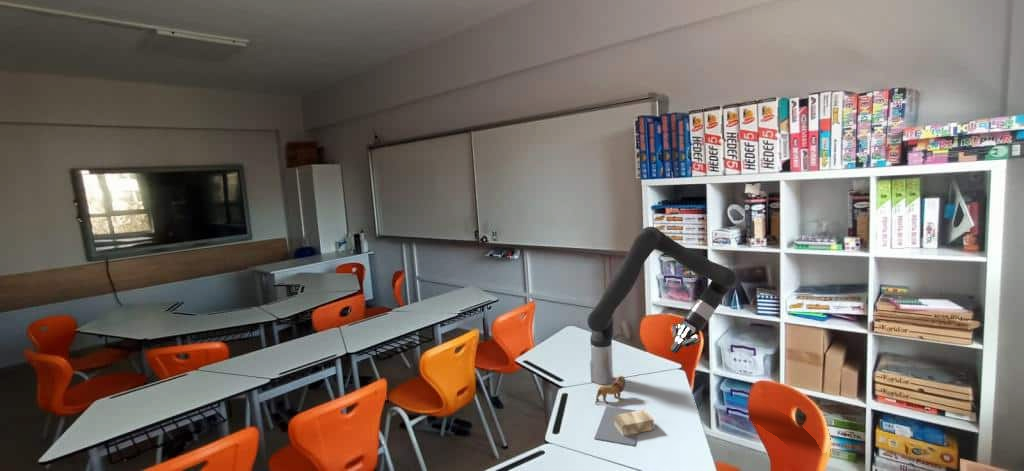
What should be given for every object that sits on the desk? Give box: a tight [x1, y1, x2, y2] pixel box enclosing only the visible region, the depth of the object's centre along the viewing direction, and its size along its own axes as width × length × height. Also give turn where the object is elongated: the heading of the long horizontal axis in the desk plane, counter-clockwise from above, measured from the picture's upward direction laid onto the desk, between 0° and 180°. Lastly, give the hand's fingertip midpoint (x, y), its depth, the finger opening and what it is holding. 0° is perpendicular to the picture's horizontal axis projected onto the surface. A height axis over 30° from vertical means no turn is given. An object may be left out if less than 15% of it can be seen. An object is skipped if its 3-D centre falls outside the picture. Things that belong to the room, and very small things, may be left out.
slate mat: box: [593, 405, 639, 447], centre depth 170 cm, size 14×22×1 cm, turn 157°
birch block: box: [614, 409, 655, 436], centre depth 168 cm, size 4×7×12 cm
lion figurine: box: [594, 375, 626, 404], centre depth 188 cm, size 15×5×9 cm, turn 114°
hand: (672, 351), depth 173 cm, fingers closed
